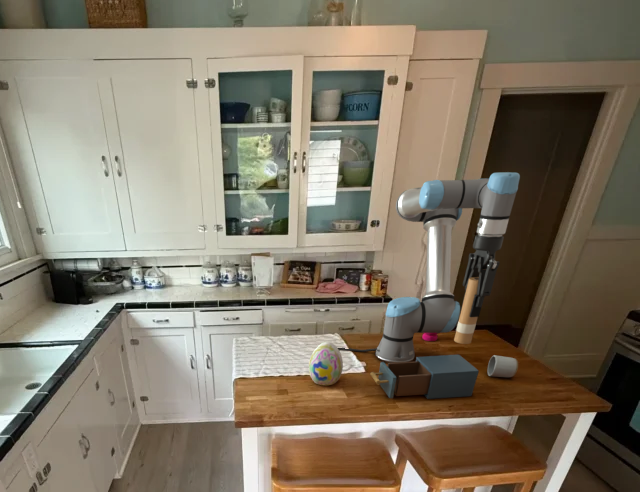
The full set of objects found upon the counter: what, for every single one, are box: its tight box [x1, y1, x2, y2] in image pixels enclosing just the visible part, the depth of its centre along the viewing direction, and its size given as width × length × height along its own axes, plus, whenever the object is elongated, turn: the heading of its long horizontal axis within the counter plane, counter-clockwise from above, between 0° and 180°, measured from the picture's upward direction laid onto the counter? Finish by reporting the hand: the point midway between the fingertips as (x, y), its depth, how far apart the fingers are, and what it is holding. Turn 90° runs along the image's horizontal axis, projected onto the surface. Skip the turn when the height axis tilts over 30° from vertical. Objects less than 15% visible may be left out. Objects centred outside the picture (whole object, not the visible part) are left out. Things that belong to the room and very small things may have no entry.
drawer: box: [369, 360, 432, 399], centre depth 147 cm, size 19×12×8 cm, turn 95°
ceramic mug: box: [487, 354, 519, 378], centre depth 157 cm, size 11×8×8 cm
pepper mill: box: [422, 333, 439, 342], centre depth 184 cm, size 7×7×20 cm
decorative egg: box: [308, 341, 344, 387], centre depth 154 cm, size 12×12×15 cm
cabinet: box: [415, 354, 479, 400], centre depth 148 cm, size 16×14×10 cm
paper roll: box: [453, 277, 479, 345], centre depth 136 cm, size 5×5×20 cm
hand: (469, 313), depth 136 cm, fingers closed on paper roll, 5 cm apart
